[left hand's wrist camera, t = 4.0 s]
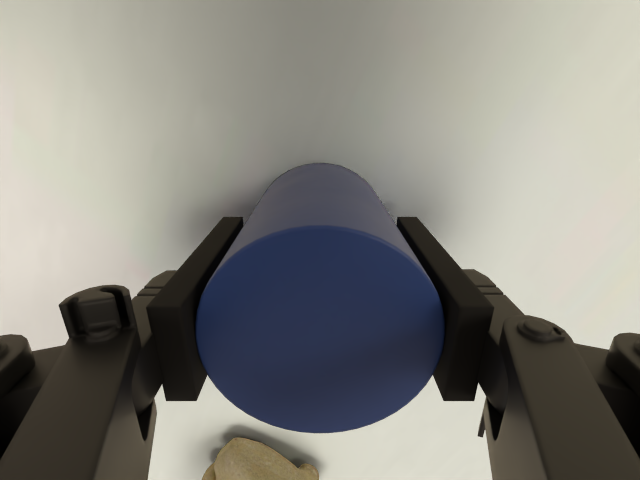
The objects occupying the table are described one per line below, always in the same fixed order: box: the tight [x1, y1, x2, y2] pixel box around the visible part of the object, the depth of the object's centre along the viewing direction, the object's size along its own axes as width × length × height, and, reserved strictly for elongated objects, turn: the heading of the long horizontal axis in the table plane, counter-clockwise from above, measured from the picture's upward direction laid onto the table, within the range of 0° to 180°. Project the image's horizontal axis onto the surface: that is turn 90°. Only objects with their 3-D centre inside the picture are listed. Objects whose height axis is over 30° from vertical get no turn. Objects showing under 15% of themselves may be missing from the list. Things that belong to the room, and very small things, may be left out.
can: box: [195, 163, 445, 433], centre depth 12 cm, size 6×6×9 cm
